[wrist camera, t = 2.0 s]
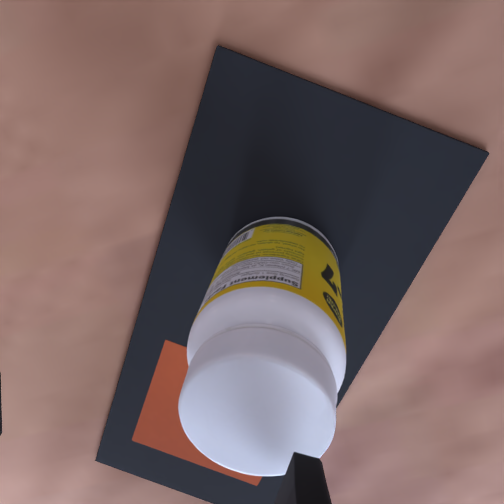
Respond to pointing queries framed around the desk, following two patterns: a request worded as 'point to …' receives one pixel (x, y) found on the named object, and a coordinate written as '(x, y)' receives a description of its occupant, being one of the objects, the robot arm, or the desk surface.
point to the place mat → (277, 205)
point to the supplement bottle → (267, 350)
